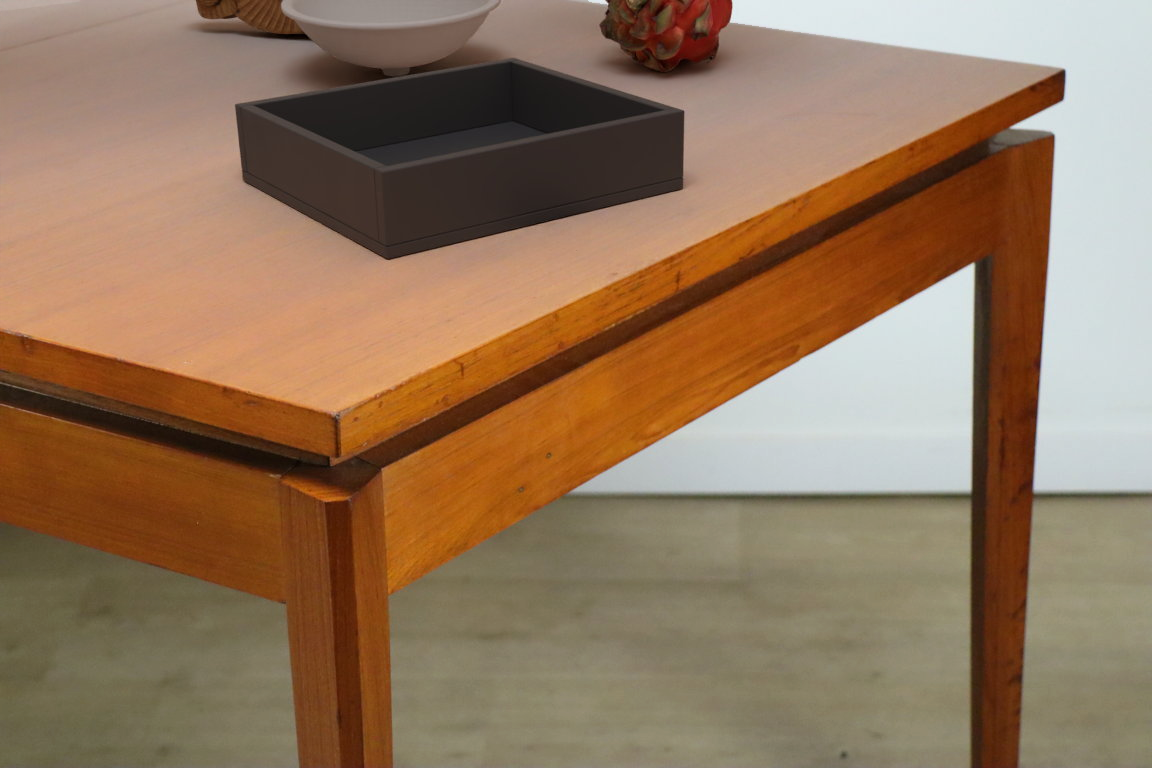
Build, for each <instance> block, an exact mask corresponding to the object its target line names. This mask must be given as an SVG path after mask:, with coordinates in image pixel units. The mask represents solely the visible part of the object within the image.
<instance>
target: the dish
mask: <svg viewBox="0 0 1152 768" xmlns="http://www.w3.org/2000/svg"><path fill="white" fill-rule="evenodd" d="M501 1H502V0H283V1H282V3H281V9H282V12H283V13H284V14H285V15H286V16H288V17H289V18H291V19H294V20H295V21H296V23H297V24H298V26H299V27H300V28H301V29H302V30H303V31H304V32H305V33H306V34H305V35H306V36H307V37H308V38H309V39H310V40H311V41H312V42H313V43H314V44H316V45H317V46H318V47H319V48H321V50H323V51H325V53H327V54H329V55H331V56H332V57H334V58H336V59H338V60H340V61H343V62H346V63H349V64H352V65H355V66H359V67H365V68H371V69H381V70H382V73H383V74H384V76H390V77H401V76H407V75H409V74H410V70H411V68H413V67H419V66H424V65H428V64H431V63H434V62H437V61H440V60H442V59H445V58H446V57H448V56H450V55H452V54H454V53H456V52H457V51H458V50H459V49H461V48H462V47H463V46H464V45H465V44H467V42H468V41H469V40H470V39H471V38H472V37H474V35H475V34H476V33H477V32H478V30H479V29H480V28H481V26H482V25H484V22H485V21H486V20H487V17H488V16H489V14H490V13H491V12H492V11H494V10H495V9H497V8H498V7H499V6H500V4H501Z"/></svg>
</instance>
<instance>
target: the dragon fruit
mask: <svg viewBox="0 0 1152 768" xmlns="http://www.w3.org/2000/svg"><path fill="white" fill-rule="evenodd" d="M604 1H605V2H606V3H607V10H605V12H604V15H605V17H604V19H602V20H601V22H600V23H599V28H600V32H601V34H602V36H603V38H604V39H606V40H610V41H613V42H614V43H616V44H618V45H619V46H620V50H622V51H623V52H624V53H626V54H627V55H629V56H630V57H631V59H632V60H633V61H634V62H638V63H640V64H641V65H643V66H644V67H646V68H649V69H652V70H655V71H657V72H661V73H668V72H671V70H673V69H675V68H676V67H677V66H678V65H679V63H680V61H682V60H688V61H690V62H691V63H693V64H698V63H701V62H705V61H706V64H710V63H711V62H713V61H714V60H715V59H716V57H717V55H718V53H719V47H720V42H719V41H720V36H719V34H720V32H721V31H722V29H724V28H726V27H727V26H728V24H730V22H731V19H732V14H733V7H734V6H733V0H604Z"/></svg>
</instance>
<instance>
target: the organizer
mask: <svg viewBox="0 0 1152 768" xmlns="http://www.w3.org/2000/svg"><path fill="white" fill-rule="evenodd" d="M234 108H235V119H236V129H237V137H238V138H237V139H238V147H239V148H238V149H239V155H240V156H239V157H240V167H241V174H242V181H244V182H245V183H247V184H249V185H251V186H253V187H254V188H257V189H258V190H260V191H261V192H264V193H266V194H267V195H270V196H271V197H273V198H275V200H278V201H279V202H282V203H284V204H286V205H287V206H288V207H289V206H290V208H293V209H295V210H297V211H299V212H300V213H302V214H304V215H305V216H307V217H310V218H312V219H313V220H315V221H317V222H318V223H320V224H322V225H324V226H326V227H329V228H330V229H331V230H334V231H335V232H337V233H339V234H341V235H343V236H345V237H346V238H348V239H350V240H352V241H354V242H356V243H357V244H359V245H360V246H363V247H365V248H366V249H368V250H370V251H372V252H374V253H376V254H378V255H379V256H380V257H383V258H385V259H386V260H390V259H393V258H398V257H402V256H407V255H411V254H415V253H419V252H422V251H428V250H432V249H435V248H439V247H444V246H449V245H452V244H457V243H461V242H465V241H469V240H473V239H477V238H482V237H486V236H490V235H494V234H498V233H502V232H508V231H511V230H514V229H519V228H523V227H528V226H531V225H535V224H540V223H545V222H548V221H552V220H556V219H561V218H565V217H568V216H574V215H577V214H581V213H586V212H590V211H594V210H599V209H602V208H603V209H604V208H607V207H611V206H615V205H620V204H624V203H627V202H632V201H636V200H640V199H644V198H645V199H646V198H649V197H653V196H657V195H661V194H665V193H670V192H674V191H679V190H683V189H684V160H685V159H684V155H685V154H684V153H685V152H684V151H685V150H684V149H685V110H684V109H680V108H677V107H674V106H671V105H667V104H666V103H665V104H664V103H661V102H658V101H656V100H655V101H654V100H651V99H648V98H645V97H642V96H638V95H635V94H633V93H629V92H626V91H624V90H623V91H622V90H619V89H616V88H612V87H609V86H607V85H603V84H601V83H597V82H593V81H590V80H587V79H584V78H580V77H577V76H574V75H571V74H567V73H564V72H561V71H558V70H555V69H551V68H548V67H545V66H541V65H538V64H535V63H532V62H529V61H527V60H526V61H525V60H522V59H519V58H516V57H509V58H504V59H498V60H492V61H486V62H479V63H473V64H468V65H462V66H455V67H449V68H444V69H438V70H431V71H425V72H418V73H414V74H413V73H412V74H406V75H401V76H394V77H389V78H383V79H377V80H371V81H366V82H360V83H353V84H349V85H348V84H347V85H341V86H335V87H330V88H324V89H317V90H311V91H305V92H300V93H299V92H298V93H295V94H288V95H281V96H276V97H269V98H263V99H258V100H251V101H246V102H239V103H236V104H234Z"/></svg>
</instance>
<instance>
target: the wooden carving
mask: <svg viewBox="0 0 1152 768" xmlns="http://www.w3.org/2000/svg"><path fill="white" fill-rule="evenodd" d="M282 1H283V0H195V3H196V8H197V12H198V14H199V16H200V17H201V18H202V19H208V20H230V19H236V18H237V19H239V20H240V21H242V22H244V23H245V24H247V25H248V26H250V27H251V28H255V29H257V30H261V31H263V32H267V33H271V34H276V35H277V34H279V35H293V34H294V35H304V34H305V35H306V33H305V32H304V31H303V30H302V29H301V28H300V27H299V26H298V24H297V23H296V21H295V20H294V19H291V18H289V17H288V16H286V15H285V14H284V13H283V12H282V9H281V3H282Z"/></svg>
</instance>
